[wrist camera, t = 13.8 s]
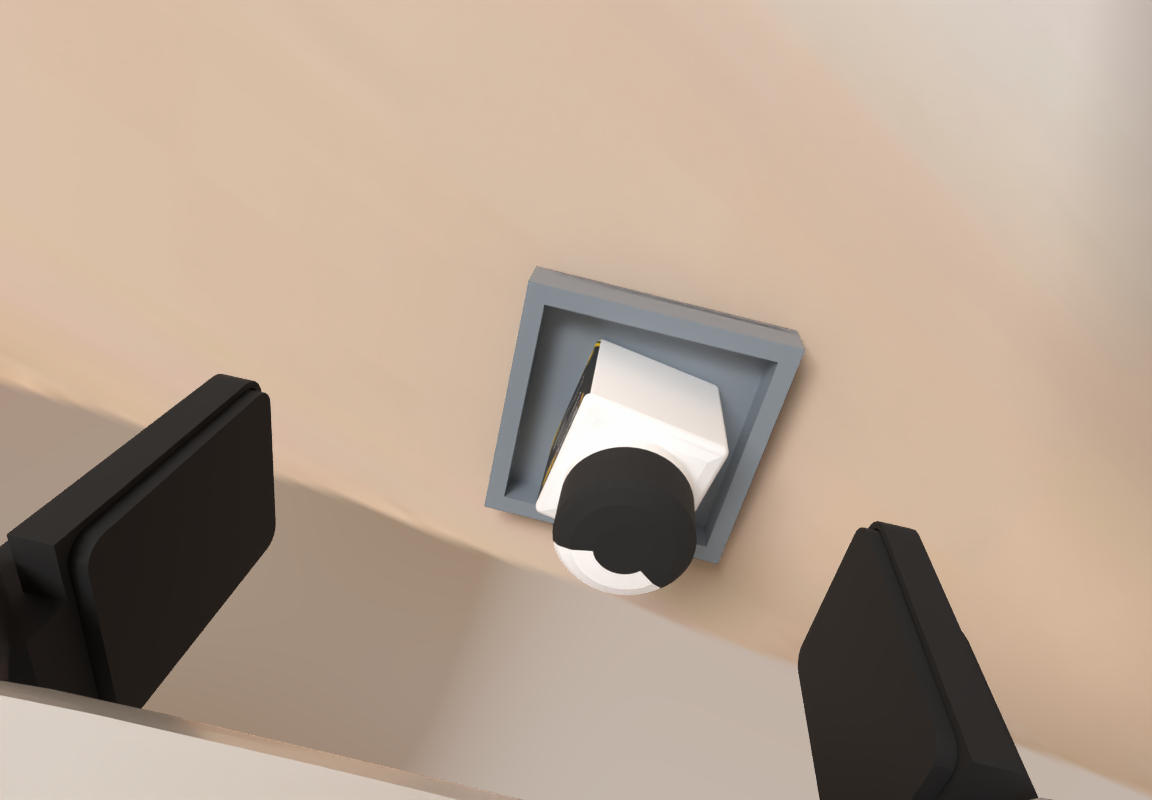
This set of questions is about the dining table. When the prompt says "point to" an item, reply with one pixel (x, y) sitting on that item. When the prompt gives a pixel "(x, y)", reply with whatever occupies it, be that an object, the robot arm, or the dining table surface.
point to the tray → (660, 332)
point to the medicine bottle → (631, 471)
